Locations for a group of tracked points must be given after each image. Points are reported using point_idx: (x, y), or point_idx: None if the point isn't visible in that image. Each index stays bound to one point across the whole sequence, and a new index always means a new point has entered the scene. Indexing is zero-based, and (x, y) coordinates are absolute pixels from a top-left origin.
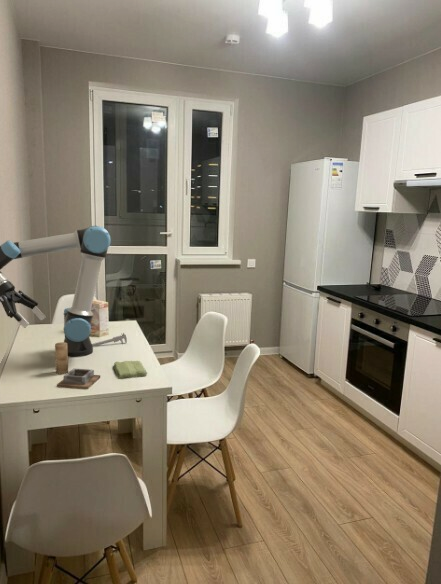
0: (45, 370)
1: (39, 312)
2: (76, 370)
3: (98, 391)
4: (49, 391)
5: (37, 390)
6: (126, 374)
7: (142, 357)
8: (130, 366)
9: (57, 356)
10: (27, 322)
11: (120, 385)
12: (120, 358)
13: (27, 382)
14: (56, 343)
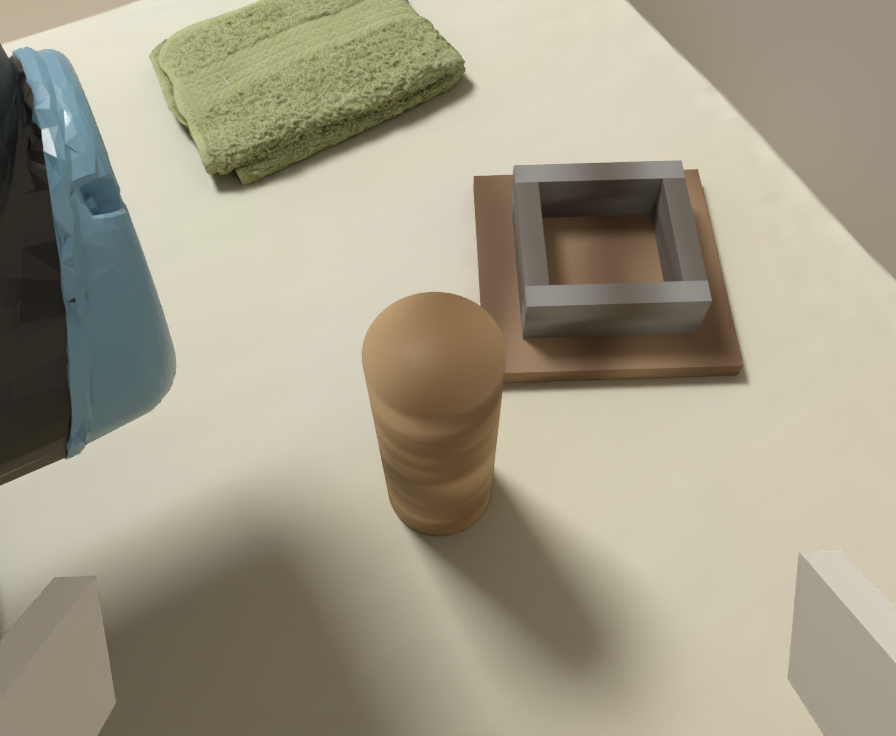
0: (424, 666)
1: (13, 725)
2: (547, 278)
3: (699, 118)
4: (832, 381)
5: (858, 472)
6: (440, 37)
7: None
8: (318, 37)
9: (497, 426)
10: (843, 575)
11: (568, 50)
12: None
13: (752, 654)
14: (426, 412)
